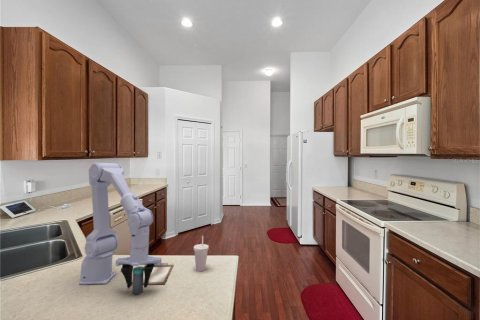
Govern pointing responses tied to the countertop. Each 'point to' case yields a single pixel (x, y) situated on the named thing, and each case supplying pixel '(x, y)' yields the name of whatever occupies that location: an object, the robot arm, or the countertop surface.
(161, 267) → the picture frame
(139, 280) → the bottle
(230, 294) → the countertop surface
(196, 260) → the smoothie
